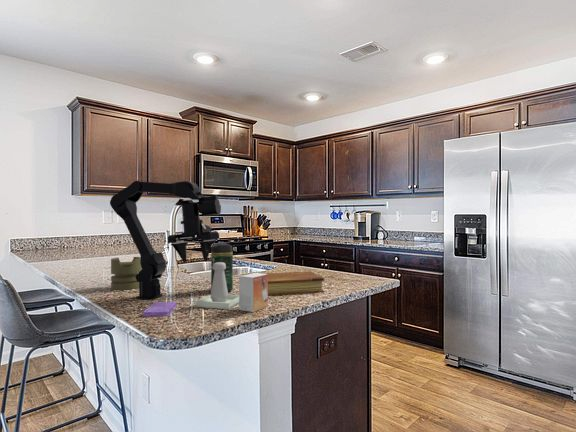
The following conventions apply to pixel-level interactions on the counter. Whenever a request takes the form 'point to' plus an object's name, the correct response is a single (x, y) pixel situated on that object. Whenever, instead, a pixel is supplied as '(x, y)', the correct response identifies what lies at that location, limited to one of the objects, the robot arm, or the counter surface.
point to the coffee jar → (225, 255)
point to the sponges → (159, 309)
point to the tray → (208, 302)
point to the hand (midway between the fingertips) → (195, 261)
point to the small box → (253, 292)
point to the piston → (125, 274)
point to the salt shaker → (219, 283)
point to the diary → (294, 283)
